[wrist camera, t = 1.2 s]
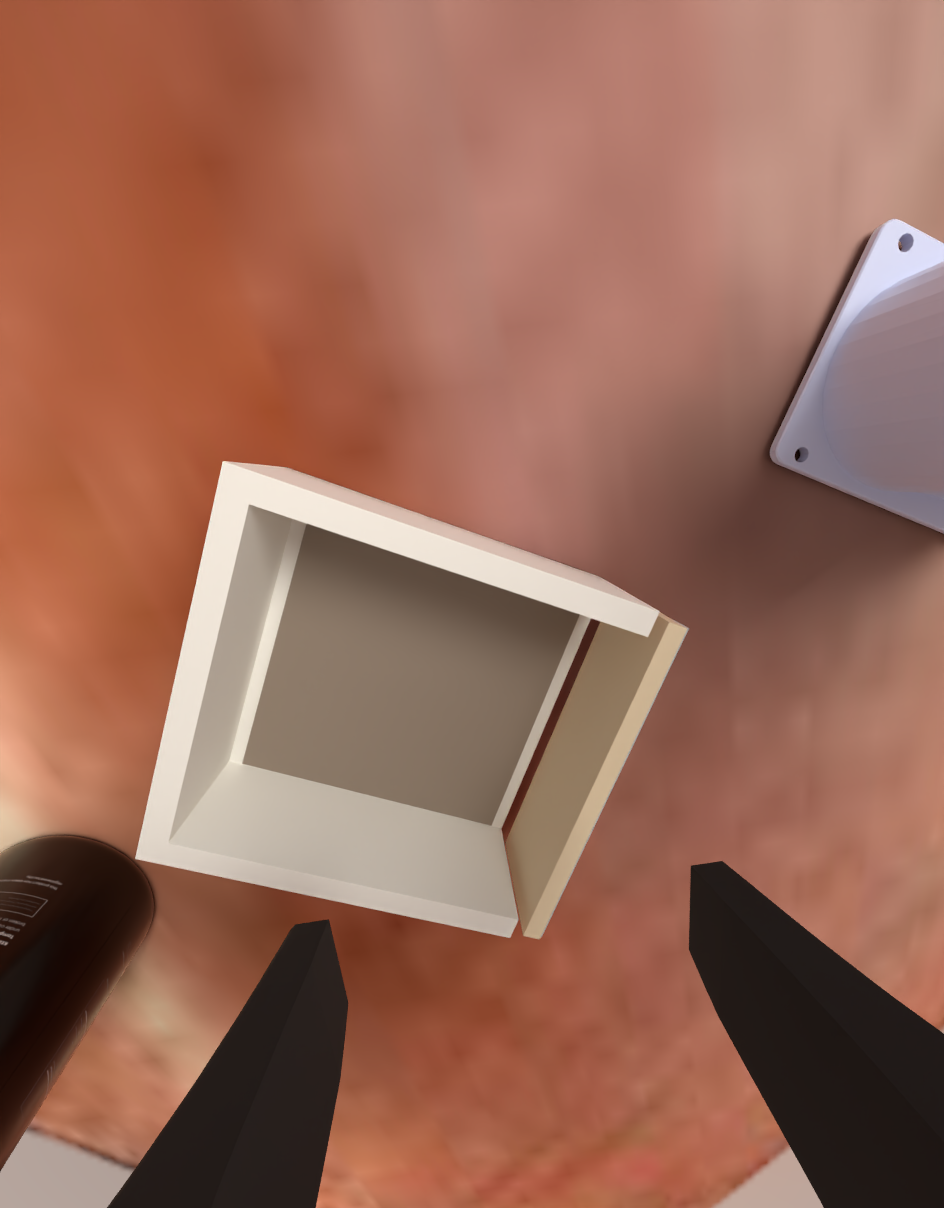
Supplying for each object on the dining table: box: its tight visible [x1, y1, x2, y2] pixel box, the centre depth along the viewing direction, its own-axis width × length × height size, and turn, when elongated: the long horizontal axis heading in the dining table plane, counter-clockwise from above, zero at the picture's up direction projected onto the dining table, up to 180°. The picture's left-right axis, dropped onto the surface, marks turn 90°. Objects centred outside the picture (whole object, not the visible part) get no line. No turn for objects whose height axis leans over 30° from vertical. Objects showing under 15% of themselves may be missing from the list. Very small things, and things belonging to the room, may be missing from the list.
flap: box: [505, 612, 689, 939], centre depth 16 cm, size 1×12×4 cm, turn 160°
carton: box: [135, 461, 660, 938], centre depth 16 cm, size 12×12×5 cm
